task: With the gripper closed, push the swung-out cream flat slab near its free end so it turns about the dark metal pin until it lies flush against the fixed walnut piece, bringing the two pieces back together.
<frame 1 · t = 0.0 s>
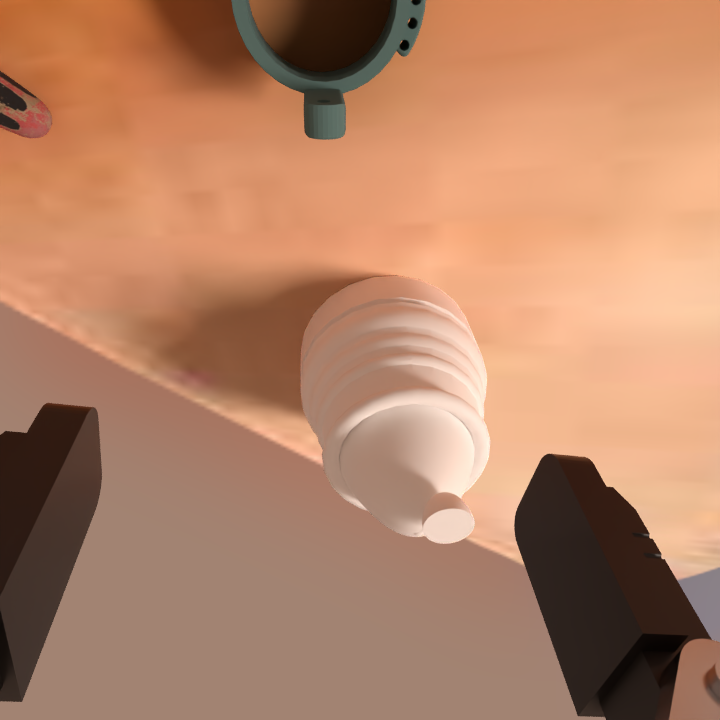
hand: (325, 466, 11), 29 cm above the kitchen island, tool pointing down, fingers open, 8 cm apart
honey pot: (386, 350, 45), on the kitchen island
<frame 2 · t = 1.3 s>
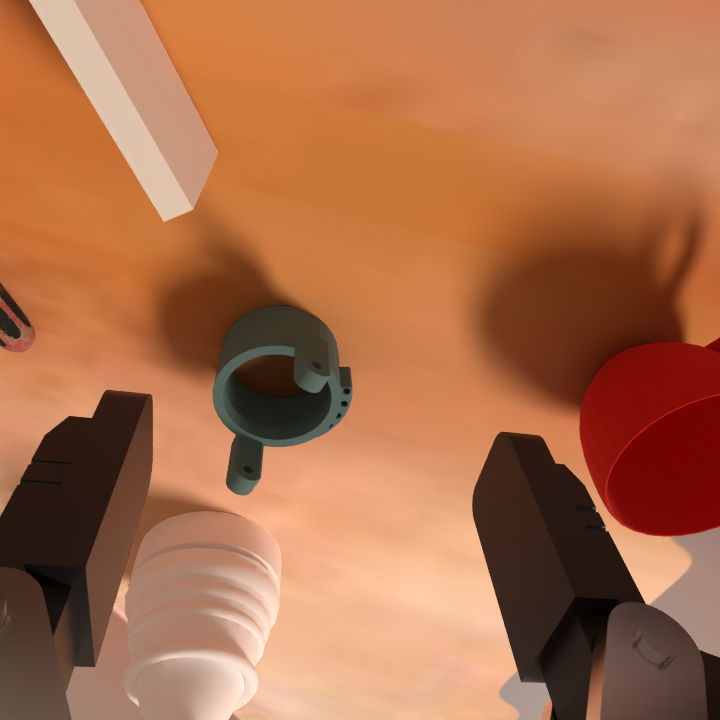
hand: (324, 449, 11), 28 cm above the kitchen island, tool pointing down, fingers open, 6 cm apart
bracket: (286, 356, 43), on the kitchen island
ceramic cup: (650, 359, 46), on the kitchen island
honey pot: (211, 556, 55), on the kitchen island
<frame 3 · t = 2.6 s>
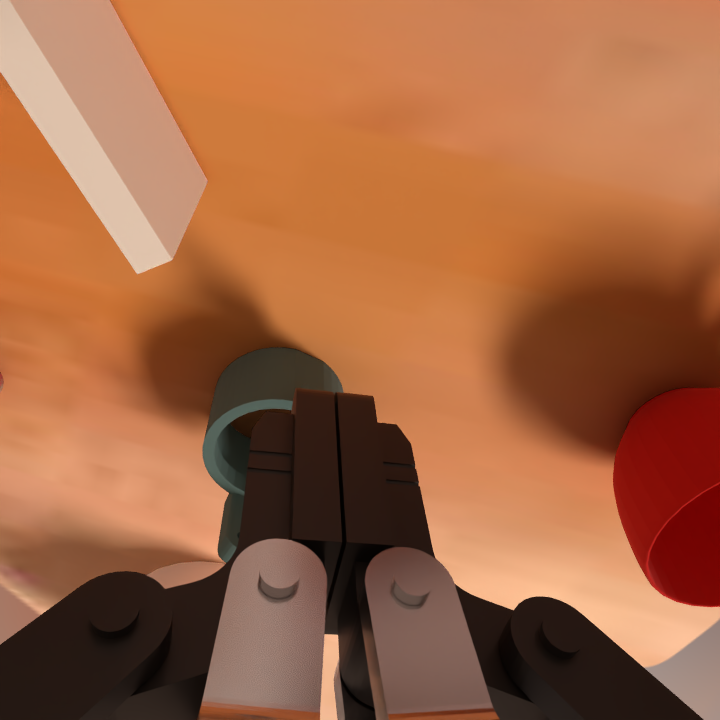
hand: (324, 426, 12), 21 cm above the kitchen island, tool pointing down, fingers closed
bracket: (286, 401, 39), on the kitchen island
ceramic cup: (691, 403, 41), on the kitchen island
honey pot: (205, 606, 51), on the kitchen island
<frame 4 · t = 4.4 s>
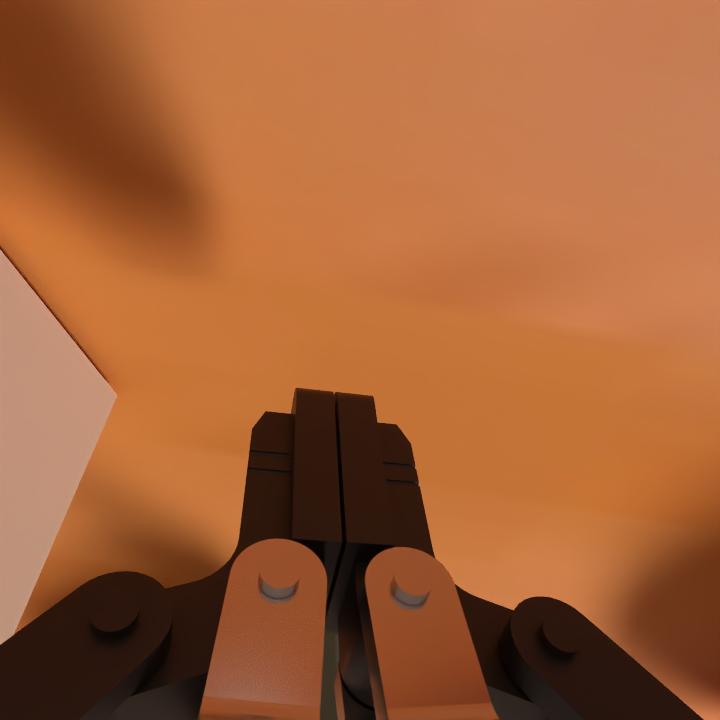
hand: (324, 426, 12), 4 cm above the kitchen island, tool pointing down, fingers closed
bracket: (274, 667, 24), on the kitchen island
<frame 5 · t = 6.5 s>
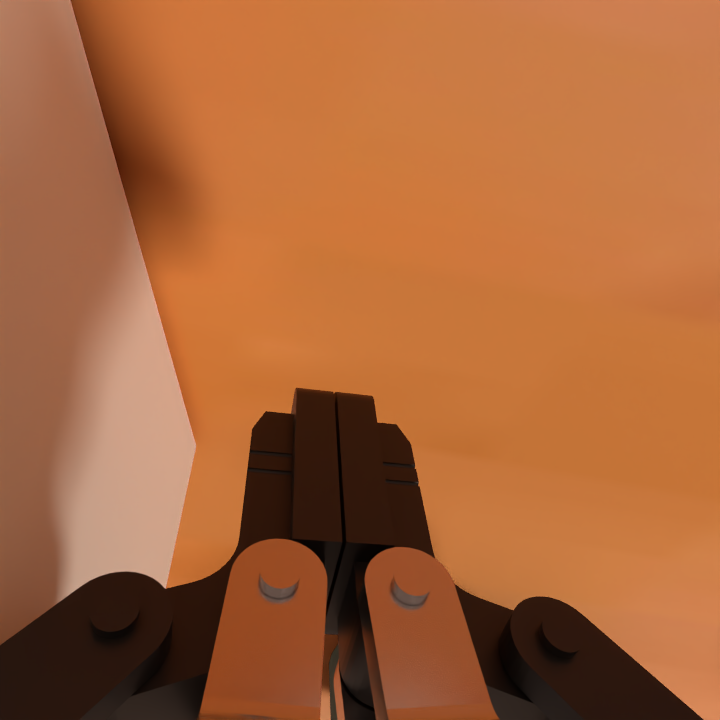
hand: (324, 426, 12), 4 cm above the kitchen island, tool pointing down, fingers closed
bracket: (433, 658, 26), on the kitchen island
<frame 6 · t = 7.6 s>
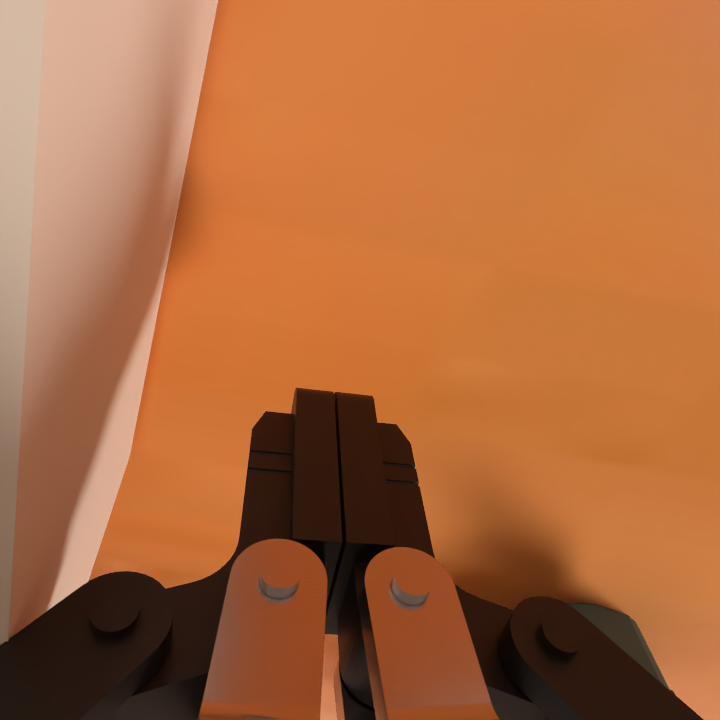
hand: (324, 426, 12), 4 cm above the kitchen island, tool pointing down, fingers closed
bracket: (551, 656, 27), on the kitchen island
cream flat slab: (91, 173, 8), point 5 cm above the kitchen island, hinge at 21.6°, touching hand
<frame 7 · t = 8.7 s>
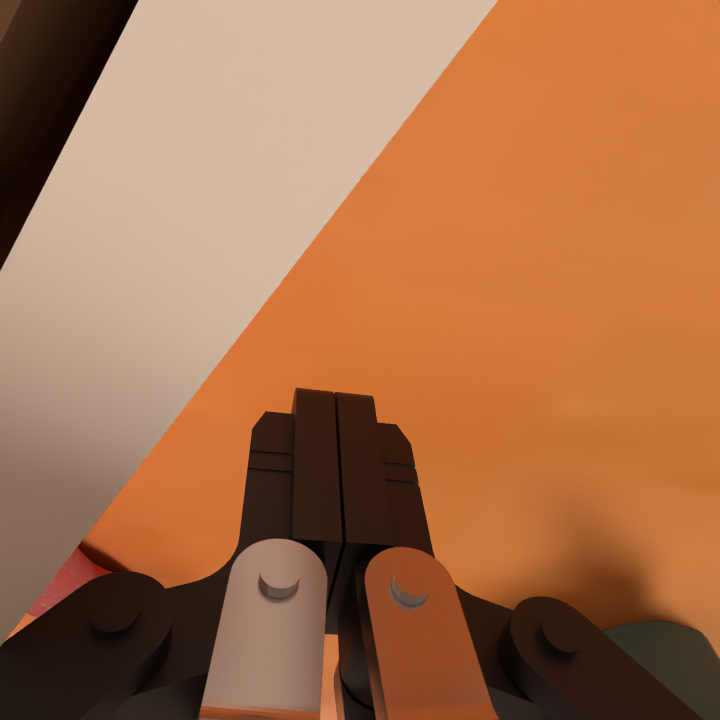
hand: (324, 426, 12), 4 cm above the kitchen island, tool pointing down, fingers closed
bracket: (623, 671, 27), on the kitchen island
screwdriver: (19, 495, 18), on the kitchen island
cream flat slab: (172, 192, 8), point 5 cm above the kitchen island, hinge at 2.5°, touching hand
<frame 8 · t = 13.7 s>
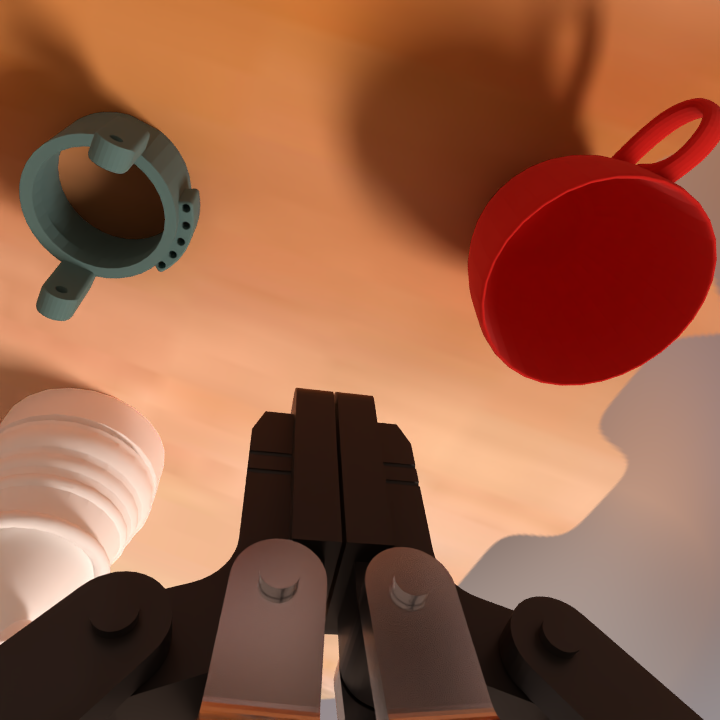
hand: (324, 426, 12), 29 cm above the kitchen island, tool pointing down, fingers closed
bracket: (130, 184, 38), on the kitchen island
ceramic cup: (556, 198, 40), on the kitchen island
honey pot: (85, 447, 49), on the kitchen island
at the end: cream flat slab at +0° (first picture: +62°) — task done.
